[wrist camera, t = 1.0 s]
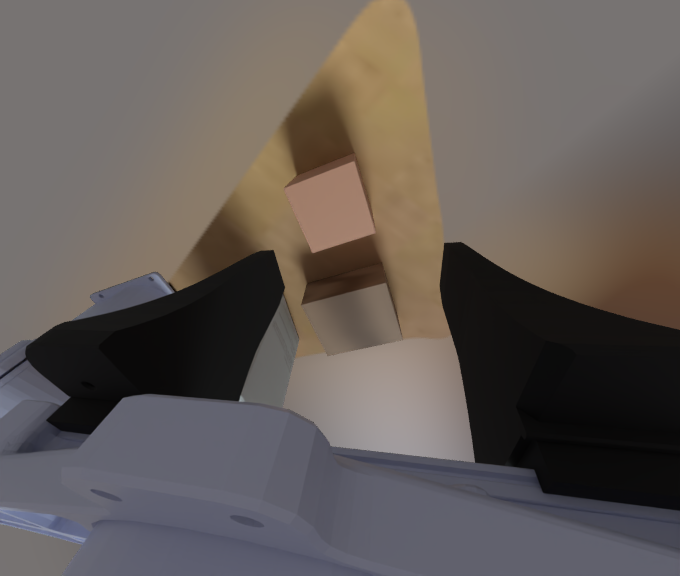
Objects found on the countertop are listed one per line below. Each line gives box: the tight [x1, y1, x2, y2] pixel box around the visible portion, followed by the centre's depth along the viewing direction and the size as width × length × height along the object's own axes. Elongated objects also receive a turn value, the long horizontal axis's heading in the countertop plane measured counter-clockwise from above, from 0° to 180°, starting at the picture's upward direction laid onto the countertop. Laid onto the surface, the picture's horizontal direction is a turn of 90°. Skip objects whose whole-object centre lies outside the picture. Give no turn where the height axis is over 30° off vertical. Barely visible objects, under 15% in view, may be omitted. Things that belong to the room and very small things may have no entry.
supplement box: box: [239, 296, 299, 408], centre depth 25 cm, size 7×7×13 cm
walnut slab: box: [301, 263, 403, 356], centre depth 27 cm, size 8×7×4 cm
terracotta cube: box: [283, 153, 376, 253], centre depth 20 cm, size 5×5×5 cm
